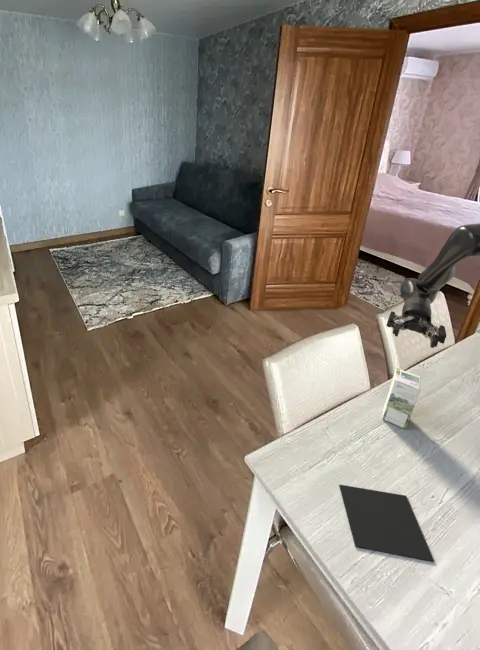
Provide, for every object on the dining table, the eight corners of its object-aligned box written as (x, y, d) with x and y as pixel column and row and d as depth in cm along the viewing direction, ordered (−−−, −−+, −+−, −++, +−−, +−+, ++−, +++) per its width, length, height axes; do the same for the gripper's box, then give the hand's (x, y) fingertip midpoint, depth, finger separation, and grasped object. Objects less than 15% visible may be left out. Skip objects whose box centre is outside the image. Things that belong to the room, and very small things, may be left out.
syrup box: (406, 415, 96) (421, 375, 91) (405, 430, 92) (420, 389, 86) (383, 406, 99) (396, 366, 94) (381, 420, 95) (394, 379, 89)
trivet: (405, 496, 76) (406, 495, 76) (433, 562, 65) (434, 561, 65) (339, 485, 78) (339, 484, 78) (355, 546, 67) (355, 546, 67)
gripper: (393, 295, 111) (388, 319, 99) (448, 310, 104) (450, 337, 91) (387, 315, 114) (382, 341, 102) (440, 330, 107) (441, 360, 94)
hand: (414, 339), depth 97 cm, fingers open, 8 cm apart
